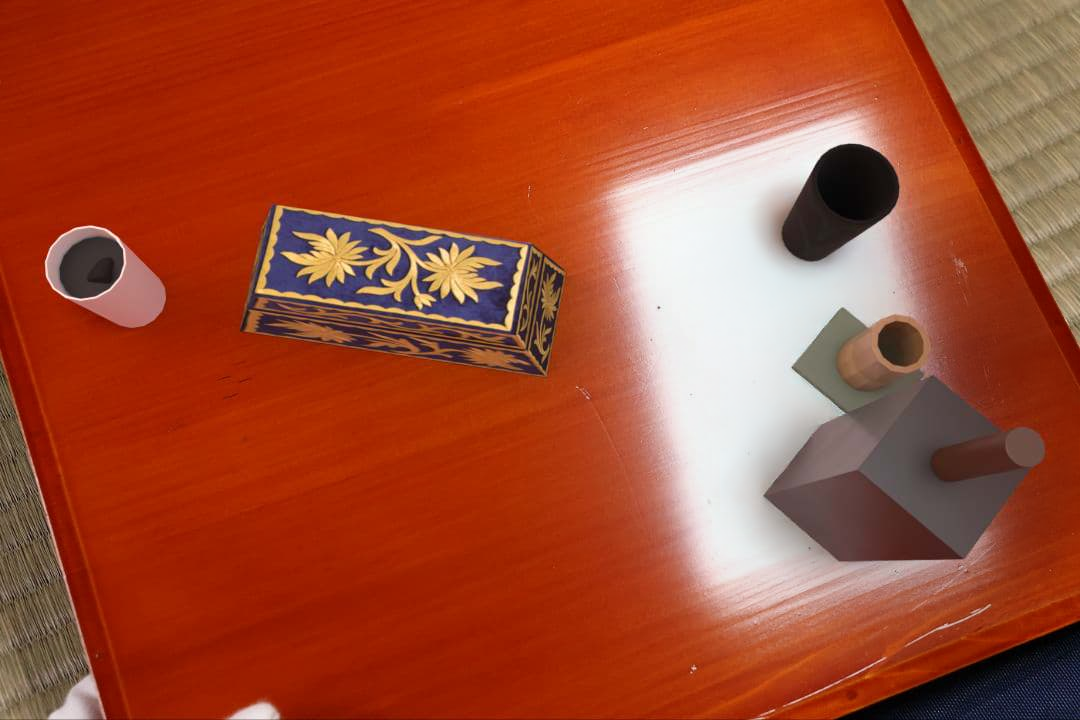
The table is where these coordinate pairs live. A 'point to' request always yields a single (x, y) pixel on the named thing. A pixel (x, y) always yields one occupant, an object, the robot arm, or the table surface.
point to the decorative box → (404, 290)
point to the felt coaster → (822, 365)
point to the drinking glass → (104, 277)
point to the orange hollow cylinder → (883, 353)
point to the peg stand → (905, 477)
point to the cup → (840, 201)
